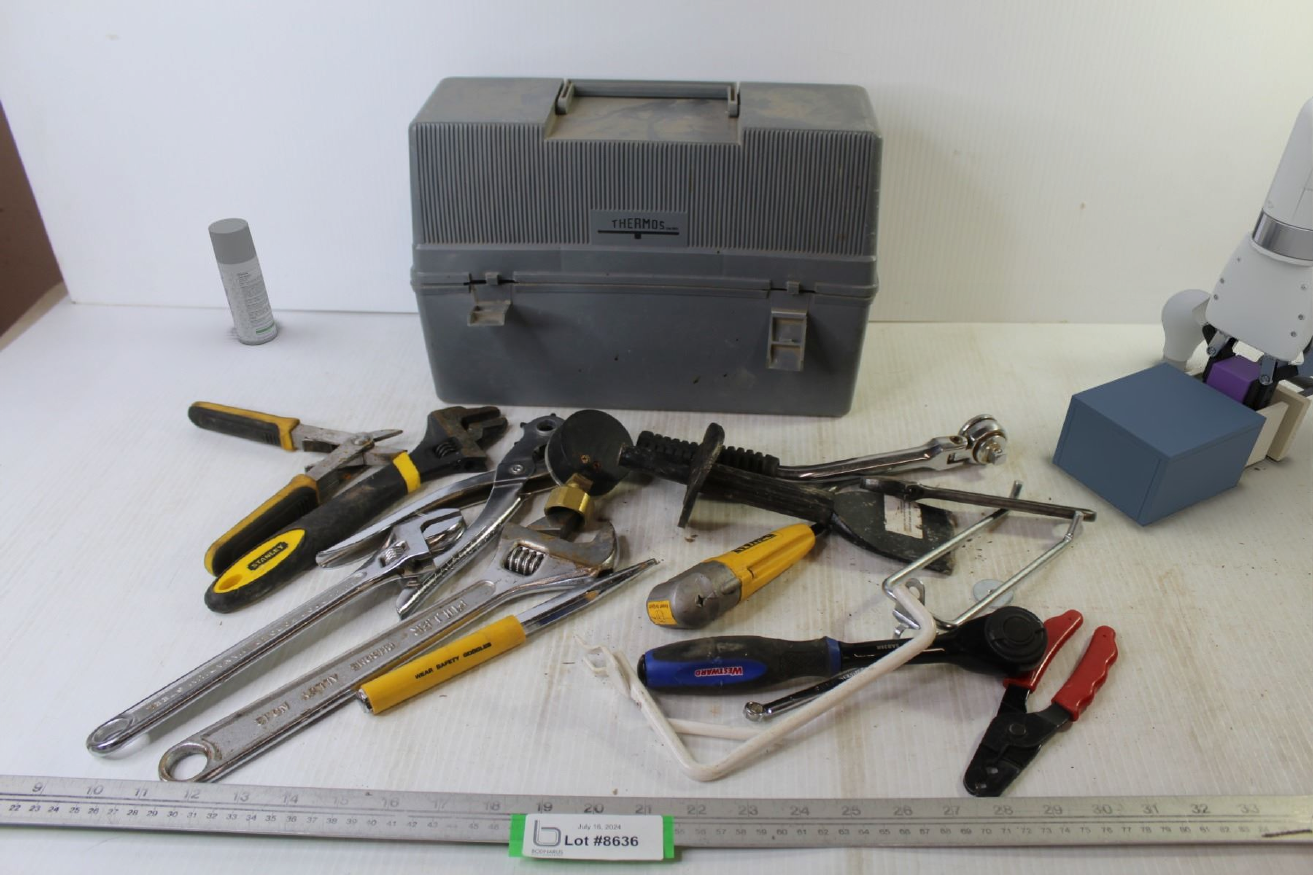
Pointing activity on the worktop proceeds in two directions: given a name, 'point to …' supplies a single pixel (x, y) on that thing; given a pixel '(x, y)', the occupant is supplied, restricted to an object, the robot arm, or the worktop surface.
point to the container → (242, 280)
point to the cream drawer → (1278, 417)
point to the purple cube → (1234, 376)
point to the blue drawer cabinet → (1156, 442)
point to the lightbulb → (1182, 327)
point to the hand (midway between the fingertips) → (1231, 398)
